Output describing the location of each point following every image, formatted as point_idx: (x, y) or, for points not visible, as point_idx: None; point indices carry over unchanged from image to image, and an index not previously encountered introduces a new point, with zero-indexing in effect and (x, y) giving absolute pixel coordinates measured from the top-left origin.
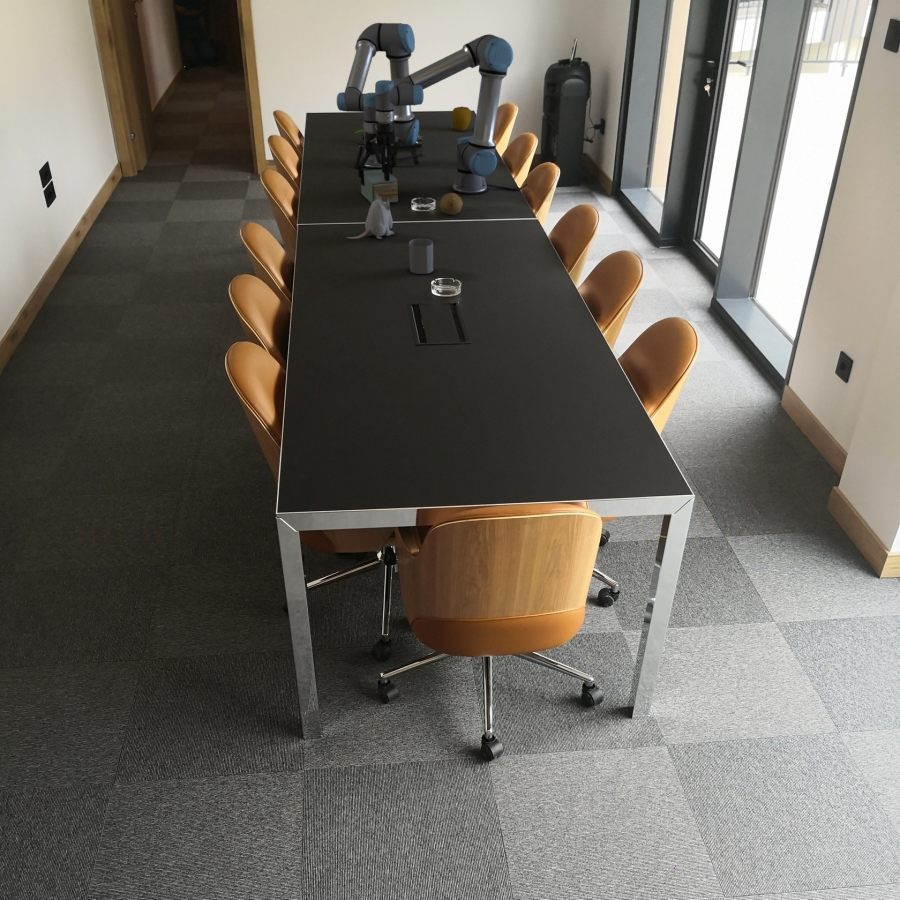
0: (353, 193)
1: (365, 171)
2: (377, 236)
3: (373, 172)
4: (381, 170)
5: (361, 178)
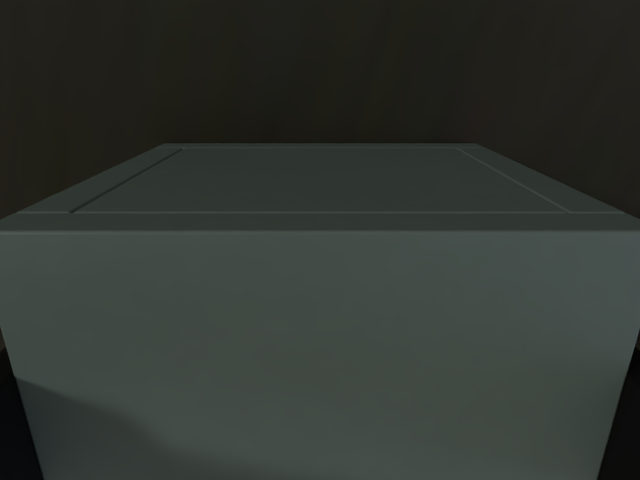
0: (68, 89)
1: (113, 269)
2: None
3: (285, 402)
4: (523, 320)
5: None
